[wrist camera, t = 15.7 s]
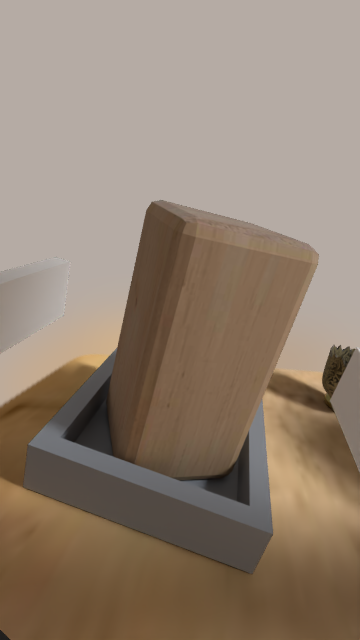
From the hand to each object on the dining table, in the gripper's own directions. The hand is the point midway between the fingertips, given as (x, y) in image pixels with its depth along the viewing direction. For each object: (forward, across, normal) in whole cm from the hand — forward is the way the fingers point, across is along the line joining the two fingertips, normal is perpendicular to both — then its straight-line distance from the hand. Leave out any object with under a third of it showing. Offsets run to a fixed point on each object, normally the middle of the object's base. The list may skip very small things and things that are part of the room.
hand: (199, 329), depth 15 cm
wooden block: (+11, -1, -16) cm, 19 cm away
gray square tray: (+11, -1, -17) cm, 20 cm away
